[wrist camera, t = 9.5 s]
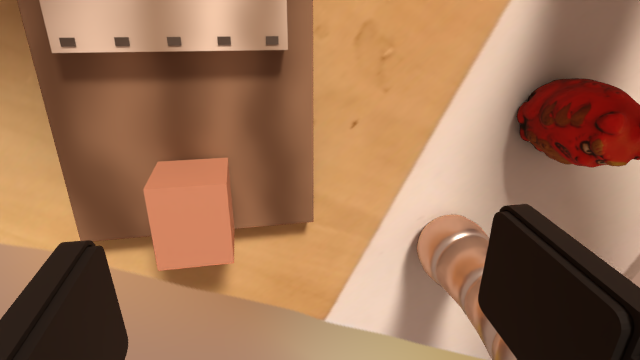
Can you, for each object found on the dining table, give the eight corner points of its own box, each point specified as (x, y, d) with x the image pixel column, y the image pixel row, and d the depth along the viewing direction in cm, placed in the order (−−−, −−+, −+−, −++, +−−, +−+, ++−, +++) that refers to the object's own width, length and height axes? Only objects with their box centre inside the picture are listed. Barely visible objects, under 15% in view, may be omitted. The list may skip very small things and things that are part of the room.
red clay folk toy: (496, 127, 36) (652, 199, 22) (545, 55, 34) (747, 85, 21) (553, 161, 39) (724, 244, 25) (601, 96, 37) (813, 147, 23)
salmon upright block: (228, 157, 30) (226, 183, 26) (234, 227, 32) (233, 263, 28) (157, 161, 29) (143, 189, 25) (169, 233, 32) (158, 270, 27)
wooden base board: (307, -117, 26) (318, -137, 23) (309, 210, 36) (317, 234, 32) (-2, -135, 23) (-48, -162, 20) (89, 229, 33) (70, 257, 29)
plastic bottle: (418, 274, 41) (563, 486, 23) (401, 221, 38) (551, 415, 20) (476, 249, 41) (665, 440, 23) (464, 195, 38) (669, 363, 20)
